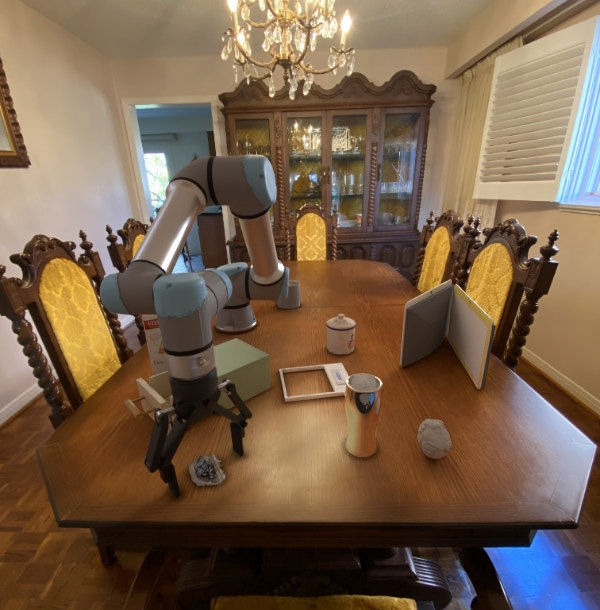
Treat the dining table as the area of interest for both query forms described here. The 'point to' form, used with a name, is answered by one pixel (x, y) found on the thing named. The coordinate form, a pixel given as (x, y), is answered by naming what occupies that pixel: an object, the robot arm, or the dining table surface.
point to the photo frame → (334, 374)
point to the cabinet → (242, 369)
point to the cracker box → (154, 343)
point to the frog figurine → (434, 438)
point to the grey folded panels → (462, 329)
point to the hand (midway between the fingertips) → (208, 471)
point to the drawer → (152, 397)
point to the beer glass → (362, 413)
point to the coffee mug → (291, 296)
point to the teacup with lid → (340, 335)
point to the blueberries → (206, 470)
